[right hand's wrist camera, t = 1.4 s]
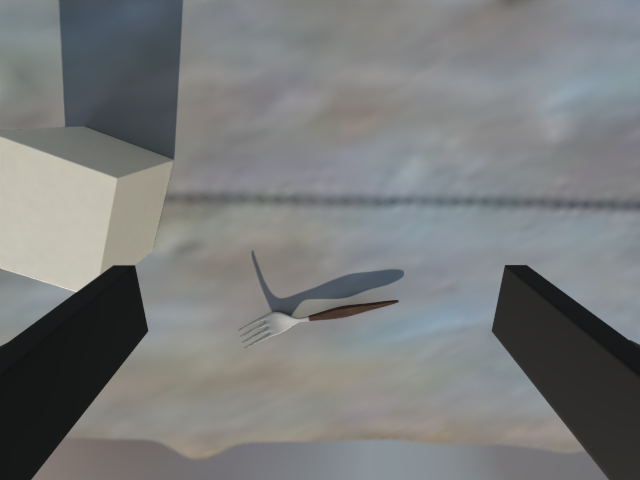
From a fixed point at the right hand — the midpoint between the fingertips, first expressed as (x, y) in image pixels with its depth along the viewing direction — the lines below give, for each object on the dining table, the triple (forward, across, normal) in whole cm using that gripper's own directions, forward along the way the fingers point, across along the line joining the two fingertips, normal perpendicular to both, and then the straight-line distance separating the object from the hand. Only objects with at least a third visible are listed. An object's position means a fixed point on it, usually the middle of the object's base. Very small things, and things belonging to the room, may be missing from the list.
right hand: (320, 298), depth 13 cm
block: (+20, -18, 0) cm, 27 cm away
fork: (+20, 0, -13) cm, 24 cm away
